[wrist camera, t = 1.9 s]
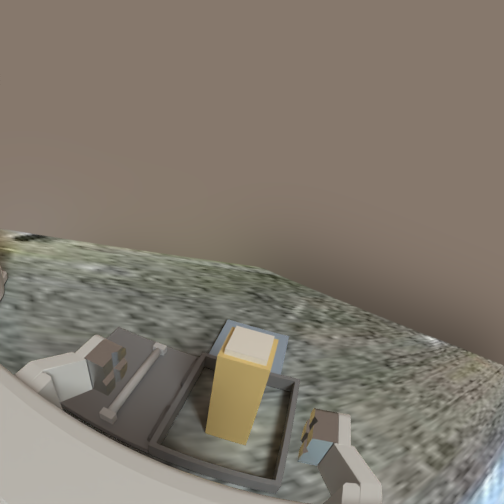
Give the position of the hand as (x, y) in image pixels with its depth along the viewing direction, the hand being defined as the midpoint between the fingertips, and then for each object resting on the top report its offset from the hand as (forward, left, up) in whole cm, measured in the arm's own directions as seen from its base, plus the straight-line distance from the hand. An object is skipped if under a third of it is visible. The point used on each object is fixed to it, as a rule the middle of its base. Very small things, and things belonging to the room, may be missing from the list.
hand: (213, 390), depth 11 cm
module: (0, +13, -20) cm, 23 cm away
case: (-7, +13, -20) cm, 25 cm away
